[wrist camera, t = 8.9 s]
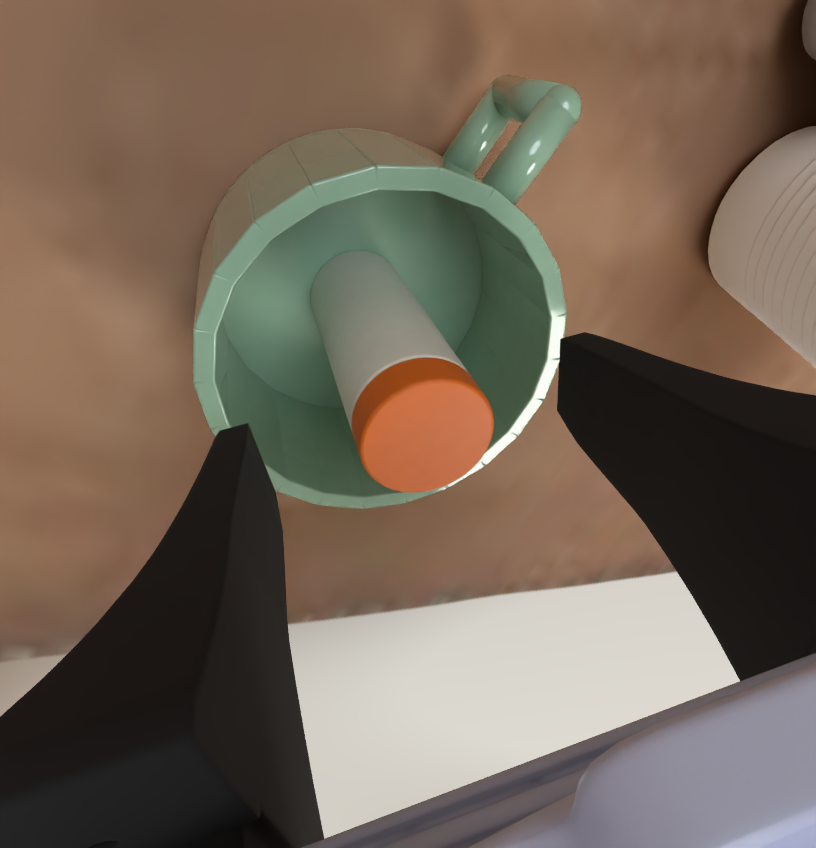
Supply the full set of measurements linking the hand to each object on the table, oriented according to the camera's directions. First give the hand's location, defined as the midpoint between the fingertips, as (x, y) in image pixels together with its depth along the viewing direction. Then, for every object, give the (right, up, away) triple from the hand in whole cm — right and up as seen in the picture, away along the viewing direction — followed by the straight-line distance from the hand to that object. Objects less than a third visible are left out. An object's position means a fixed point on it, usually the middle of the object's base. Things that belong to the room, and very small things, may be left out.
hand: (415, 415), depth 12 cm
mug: (-1, +5, +5) cm, 8 cm away
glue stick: (-2, +4, +5) cm, 7 cm away
